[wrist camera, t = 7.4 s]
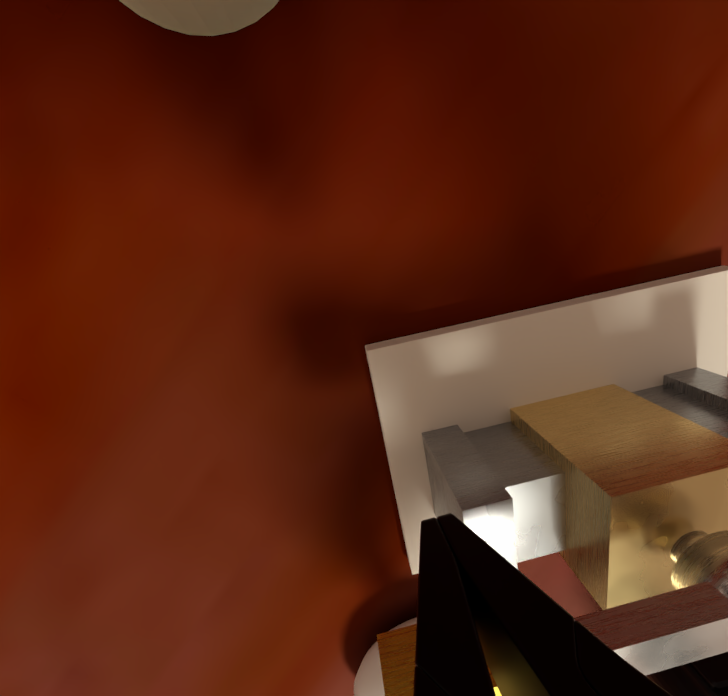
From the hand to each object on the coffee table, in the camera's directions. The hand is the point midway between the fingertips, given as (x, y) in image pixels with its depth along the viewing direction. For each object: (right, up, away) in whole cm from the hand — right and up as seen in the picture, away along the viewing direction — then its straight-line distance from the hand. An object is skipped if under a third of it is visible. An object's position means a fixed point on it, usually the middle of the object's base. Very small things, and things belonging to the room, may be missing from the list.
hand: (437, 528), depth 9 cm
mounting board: (+9, 0, +11) cm, 15 cm away
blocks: (+9, 0, +12) cm, 15 cm away
